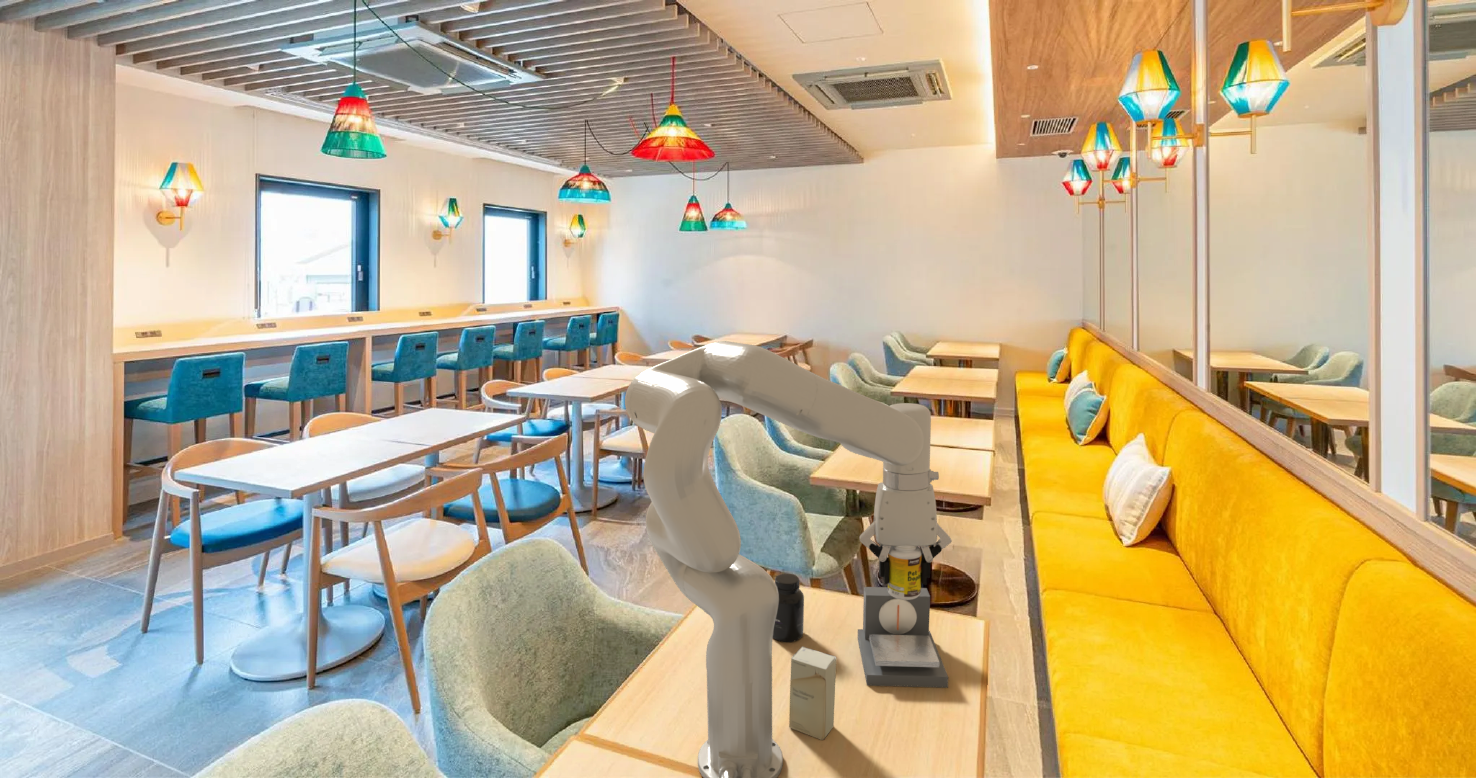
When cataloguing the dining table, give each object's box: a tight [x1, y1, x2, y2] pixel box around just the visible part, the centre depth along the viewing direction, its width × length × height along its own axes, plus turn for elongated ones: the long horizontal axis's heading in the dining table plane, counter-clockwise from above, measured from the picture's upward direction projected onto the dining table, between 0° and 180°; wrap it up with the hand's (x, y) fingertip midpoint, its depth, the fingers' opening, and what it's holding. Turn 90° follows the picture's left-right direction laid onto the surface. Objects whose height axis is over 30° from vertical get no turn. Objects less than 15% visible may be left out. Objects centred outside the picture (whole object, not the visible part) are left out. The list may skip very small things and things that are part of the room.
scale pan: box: [870, 634, 939, 667], centre depth 129 cm, size 9×11×2 cm
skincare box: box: [788, 646, 837, 741], centre depth 113 cm, size 6×4×12 cm
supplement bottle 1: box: [773, 573, 805, 643], centre depth 142 cm, size 7×7×12 cm
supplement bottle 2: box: [887, 546, 923, 600], centre depth 121 cm, size 6×6×10 cm
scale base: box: [857, 586, 949, 689], centre depth 132 cm, size 16×14×11 cm
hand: (904, 579), depth 121 cm, fingers closed on supplement bottle 2, 5 cm apart
